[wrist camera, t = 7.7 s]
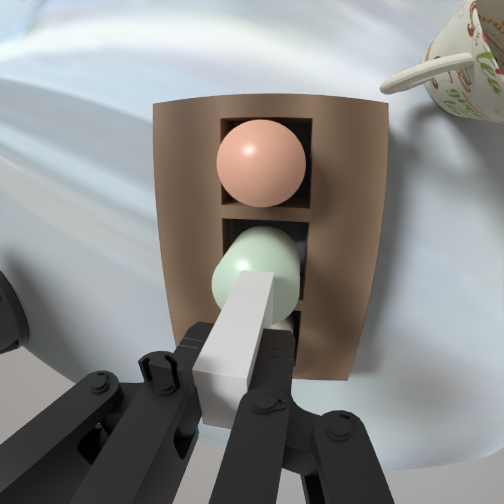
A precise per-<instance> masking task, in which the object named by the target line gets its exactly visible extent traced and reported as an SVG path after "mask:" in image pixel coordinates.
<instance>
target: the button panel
mask: <svg viewBox="0 0 504 504" xmlns="http://www.w3.org/2000/svg"><path fill="white" fill-rule="evenodd" d="M252 120H269V121H273V122H276V123H300V124H310V169H309V196H308V198H291V197H290V198H288V199H287V200H286V201H284V202H282V203H280V204H278V205H274V206H270V207H253V206H249V205H246V204H243V203H241V202H239V201H238V200H236V199H235V198H233V197H232V196H231V195H230V194H229V193H228V192H227V191H226V189H225V188H224V186H223V185H222V183H221V181H220V178H219V176H218V171H217V155H218V151H219V147H220V145H221V143H222V141H223V140H224V138H225V137H226V136H227V135H228V133H229V132H230V131H232V130H233V129H234V123H245V122H248V121H252ZM388 129H389V114H388V103H384V102H377V101H371V100H364V99H356V98H347V97H337V96H325V95H309V94H237V95H221V96H209V97H199V98H190V99H182V100H175V101H168V102H161V103H155V104H153V156H154V179H155V195H156V208H157V220H158V230H159V240H160V249H161V257H162V265H163V273H164V280H165V287H166V293H167V300H168V306H169V312H170V318H171V323H172V329H173V334H174V339H175V344H176V348H177V346H179V343H180V342H181V340H182V339H183V337H184V335H185V333H186V332H187V330H188V329H189V328H190V327H191V326H193V325H194V324H195V323H197V322H198V321H199V322H206V323H214V324H215V323H216V321H217V319H218V317H219V315H220V313H221V311H222V310H221V309H220V307H219V306H218V304H217V303H216V301H215V298H214V296H213V292H212V277H213V274H214V271H215V269H216V267H217V266H218V264H219V263H220V261H221V260H222V258H223V257H224V255H225V254H226V253H227V251H228V250H229V248H230V247H231V245H232V244H233V242H234V241H235V219H254V220H276V221H295V222H307V233H306V248H305V262H304V274H303V277H300V288H299V299H298V302H297V305H296V307H295V308H294V310H296V311H300V317H299V326H298V335H297V339H295V351H294V363H293V374H292V379H309V380H344V381H347V380H348V377H349V374H350V370H351V367H352V364H353V360H354V357H355V353H356V350H357V346H358V343H359V339H360V335H361V331H362V327H363V323H364V319H365V315H366V311H367V306H368V302H369V297H370V292H371V288H372V282H373V277H374V272H375V266H376V261H377V255H378V248H379V242H380V235H381V227H382V219H383V211H384V201H385V190H386V178H387V161H388Z"/></svg>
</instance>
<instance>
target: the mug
mask: <svg viewBox="0 0 504 504" xmlns="http://www.w3.org/2000/svg"><path fill="white" fill-rule="evenodd" d="M421 84H425V87H426V89H427V91H428V92H429V94H430V95H431V97H432V98H433V99H434V101H435V102H436V103H437V104H438V105H439V106H440V107H441V108H443V109H444V110H445V111H447V112H448V113H450V114H453V115H455V116H459V117H464V118H472V119H478V120H485V121H490V122H496V123H501V124H504V0H465V1H464V2H463V3H462V5H461V6H460V7H459V9H458V10H457V11H456V12H455V14H454V15H453V16H452V18H451V19H450V20H449V21H448V23H447V24H446V25H445V26H444V28H443V29H442V30H441V32H440V33H439V34H438V35H437V37H436V38H435V39H434V40H433V42H432V43H431V44H430V45H429V47H428V48H427V49H426V51H425V52H424V54H423V56H422V59H421V64H419V65H416V66H414V67H411V68H409V69H406V70H404V71H402V72H400V73H398V74H396V75H394V76H392V77H390V78H389V79H387V80H386V81H384V82H383V83H382V84H381V86H380V91H381V92H382V93H383V94H394V93H396V92H401V91H406V90H409V89H411V88H413V87H416V86H418V85H421Z"/></svg>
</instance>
